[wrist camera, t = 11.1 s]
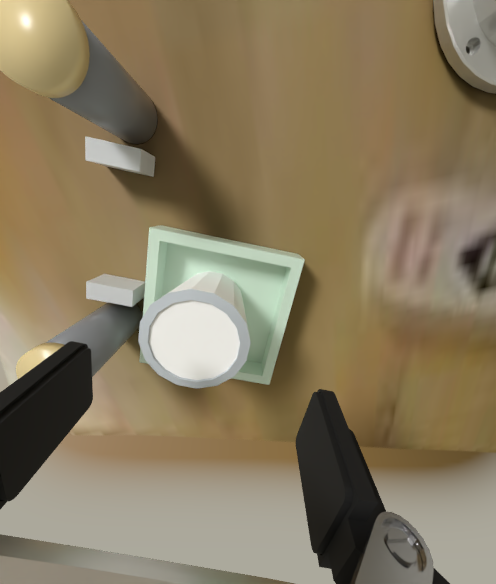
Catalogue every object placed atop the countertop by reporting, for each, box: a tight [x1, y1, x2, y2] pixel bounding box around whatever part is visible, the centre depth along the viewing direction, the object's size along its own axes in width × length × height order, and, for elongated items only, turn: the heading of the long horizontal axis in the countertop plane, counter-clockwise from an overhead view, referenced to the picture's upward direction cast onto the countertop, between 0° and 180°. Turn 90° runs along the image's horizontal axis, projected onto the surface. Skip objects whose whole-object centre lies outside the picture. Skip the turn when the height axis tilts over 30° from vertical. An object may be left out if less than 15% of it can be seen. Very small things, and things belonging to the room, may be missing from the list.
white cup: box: [138, 271, 251, 389], centre depth 18 cm, size 7×7×7 cm
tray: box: [139, 225, 305, 385], centre depth 21 cm, size 12×12×2 cm
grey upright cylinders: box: [0, 0, 157, 379], centre depth 16 cm, size 4×20×9 cm, turn 168°
